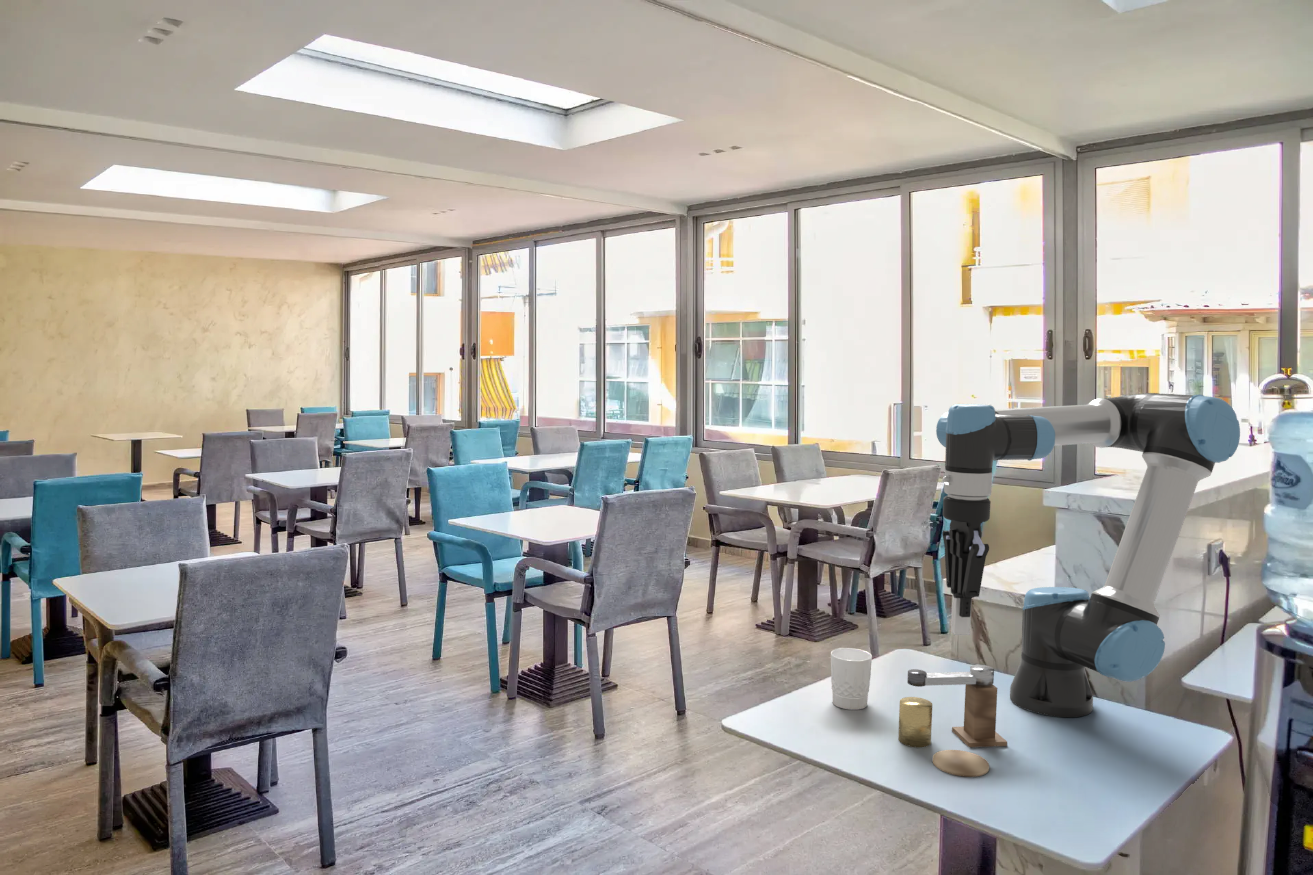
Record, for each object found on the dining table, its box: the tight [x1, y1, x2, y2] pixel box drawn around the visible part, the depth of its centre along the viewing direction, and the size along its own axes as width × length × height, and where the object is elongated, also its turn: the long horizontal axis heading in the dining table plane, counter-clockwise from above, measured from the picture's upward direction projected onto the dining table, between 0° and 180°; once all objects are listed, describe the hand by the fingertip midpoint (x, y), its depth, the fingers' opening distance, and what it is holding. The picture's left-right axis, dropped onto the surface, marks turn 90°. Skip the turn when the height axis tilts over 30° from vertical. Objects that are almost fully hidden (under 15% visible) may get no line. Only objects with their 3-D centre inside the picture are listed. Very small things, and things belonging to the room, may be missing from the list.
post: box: [951, 683, 1008, 748], centre depth 166 cm, size 7×7×10 cm
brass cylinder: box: [897, 696, 933, 749], centre depth 164 cm, size 6×6×7 cm
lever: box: [907, 664, 995, 688], centre depth 164 cm, size 16×4×2 cm, turn 96°
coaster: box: [932, 749, 990, 778], centre depth 155 cm, size 9×9×1 cm
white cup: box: [830, 647, 873, 711], centre depth 181 cm, size 8×8×10 cm
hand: (960, 633), depth 157 cm, fingers closed
